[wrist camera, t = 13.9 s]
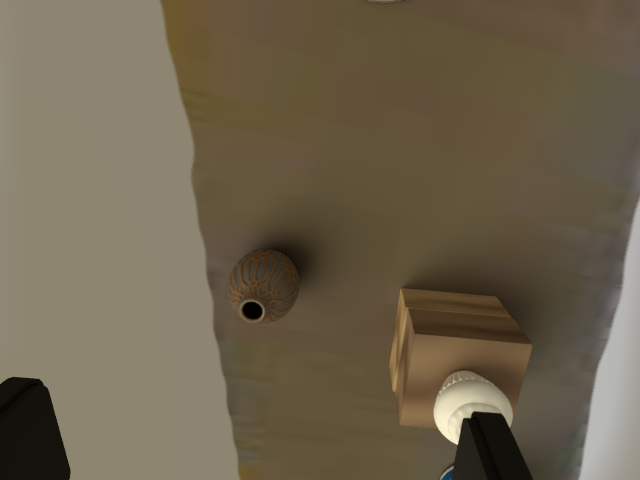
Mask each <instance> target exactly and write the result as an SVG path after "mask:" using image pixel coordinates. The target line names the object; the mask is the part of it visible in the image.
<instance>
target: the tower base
mask: <svg viewBox="0 0 640 480" xmlns="http://www.w3.org/2000/svg"><path fill="white" fill-rule="evenodd" d="M408 308H411V309H422V310H433V311H444V312H455V313H466V314H477V315H488V316H499V317H510V318H511V316H510V315H509V313H508V312H507V311H506V309H505V308H504V306H503V305H502V304H501V302H500V301H499V300H498V298H497V297H496V296H485V295H474V294H463V293H452V292H440V291H429V290H418V289H407V288H401V290H400V297H399V304H398V311H397V318H396V325H395V332H394V339H393V345H392V352H391V359H390V366H389V367H390V374H391V381H392V388H393V391H395V389H396V383H397V376H398V370H399V363H400V357H401V350H402V344H403V337H404V331H405V324H406V318H407V311H408Z"/></svg>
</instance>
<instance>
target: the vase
mask: <svg viewBox="0 0 640 480" xmlns="http://www.w3.org/2000/svg"><path fill="white" fill-rule="evenodd" d="M298 292H299V276H298V272H297V270H296V267H295V266H294V264H293V262H292V261H291V260H290V259H289V258H288V257H287V256H286V255H284V254H282V253H281V252H278V251H275V250H271V249H261V250H256V251H253V252H251V253H249V254H247V255H245V256H244V257H243V258H242V259H241V260H240V261H239V262H238V263H237V264H236V265H235V267H234V268H233V270H232V272H231V274H230V277H229V282H228V296H229V300H230V303H231V305H232V307H233V309H234V310H235V311H236V313H237V314H238V315H239V316H241V317H242V318H243V319H244V320H245V321H247V322H250V323H258V324H264V323H270V322H273V321H276V320H278V319H280V318H281V317H283V316H284V315H285V314H286V313H287V312H288V311H289V310H290V309H291V308H292V306H293V305H294V303H295V301H296V299H297V296H298Z"/></svg>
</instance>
